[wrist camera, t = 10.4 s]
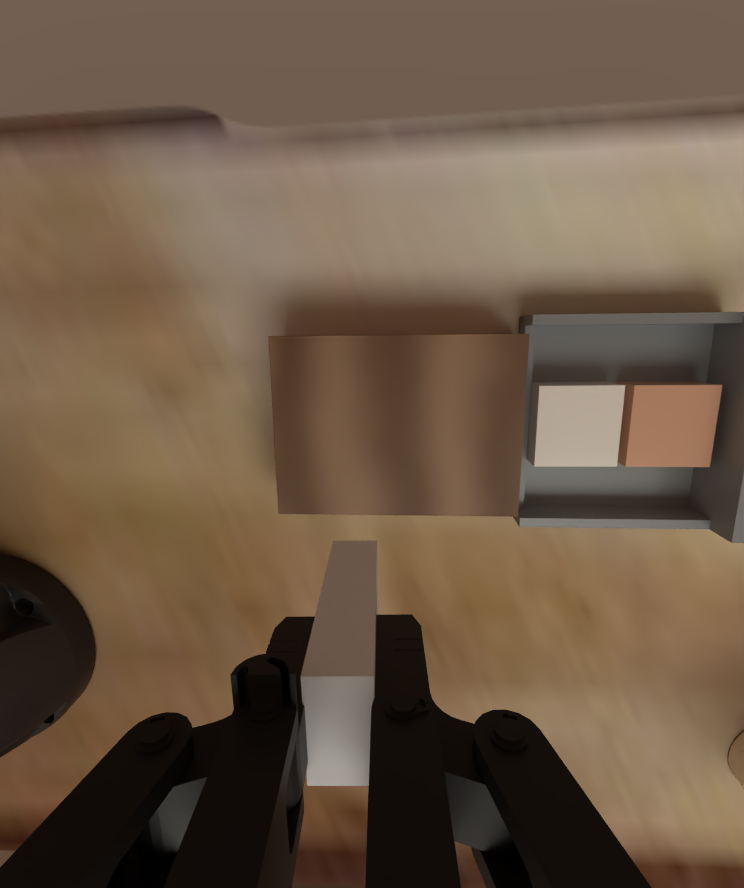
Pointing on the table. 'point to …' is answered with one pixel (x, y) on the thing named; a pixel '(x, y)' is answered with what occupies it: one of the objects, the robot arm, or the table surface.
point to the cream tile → (575, 424)
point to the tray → (640, 359)
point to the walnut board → (399, 423)
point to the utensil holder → (737, 758)
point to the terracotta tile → (668, 423)
